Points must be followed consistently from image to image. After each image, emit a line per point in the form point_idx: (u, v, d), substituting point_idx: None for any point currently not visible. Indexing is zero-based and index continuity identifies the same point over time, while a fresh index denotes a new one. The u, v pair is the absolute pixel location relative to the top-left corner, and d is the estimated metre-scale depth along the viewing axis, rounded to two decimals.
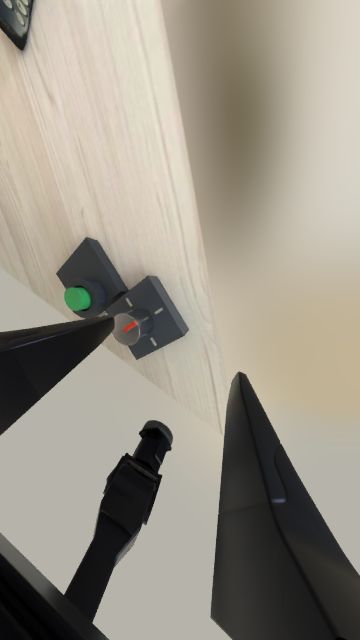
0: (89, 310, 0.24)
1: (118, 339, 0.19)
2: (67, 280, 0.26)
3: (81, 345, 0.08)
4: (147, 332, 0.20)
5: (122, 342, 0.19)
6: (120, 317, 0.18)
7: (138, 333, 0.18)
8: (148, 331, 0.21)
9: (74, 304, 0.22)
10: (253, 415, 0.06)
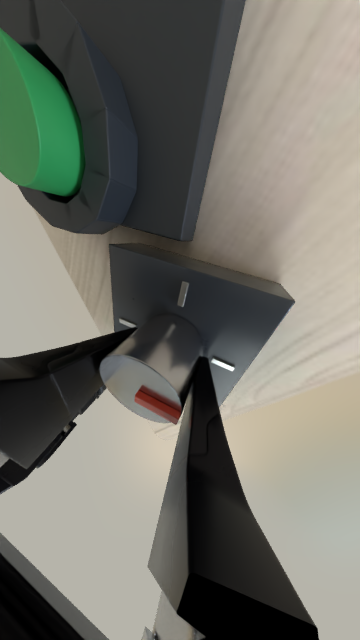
0: (60, 209, 0.07)
1: (107, 384, 0.07)
2: None
3: None
4: None
5: (112, 392, 0.08)
6: (149, 376, 0.06)
7: (163, 421, 0.07)
8: None
9: (0, 144, 0.05)
10: (201, 390, 0.06)
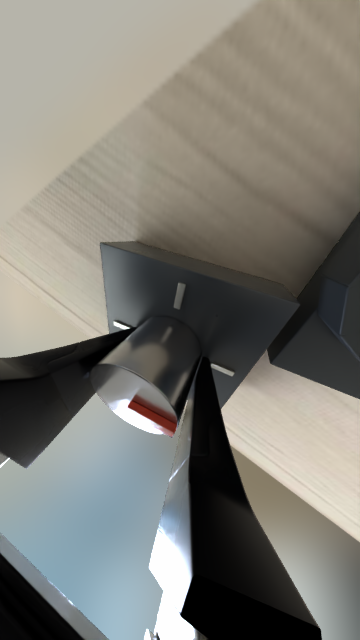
0: None
1: (99, 392, 0.07)
2: None
3: None
4: None
5: (105, 401, 0.07)
6: (141, 386, 0.05)
7: (159, 432, 0.07)
8: None
9: None
10: (202, 390, 0.06)
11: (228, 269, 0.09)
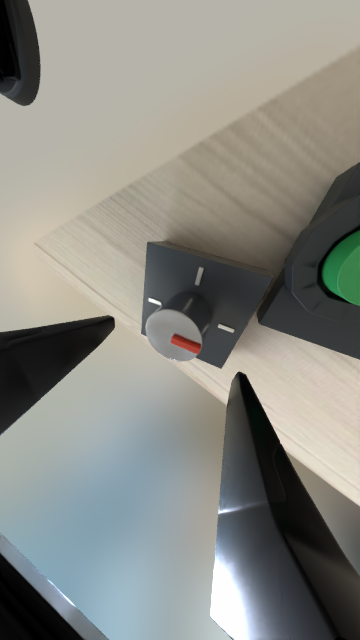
0: (318, 254, 0.08)
1: (149, 335, 0.11)
2: None
3: (81, 345, 0.08)
4: None
5: (152, 342, 0.11)
6: (182, 321, 0.09)
7: (187, 358, 0.11)
8: None
9: None
10: (253, 415, 0.06)
11: (230, 260, 0.13)
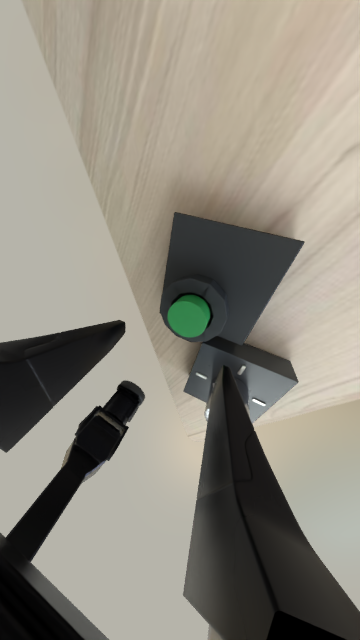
0: None
1: None
2: (184, 248, 0.13)
3: (93, 351, 0.08)
4: (248, 403, 0.15)
5: None
6: None
7: None
8: (248, 400, 0.15)
9: (181, 325, 0.13)
10: (231, 404, 0.06)
11: None
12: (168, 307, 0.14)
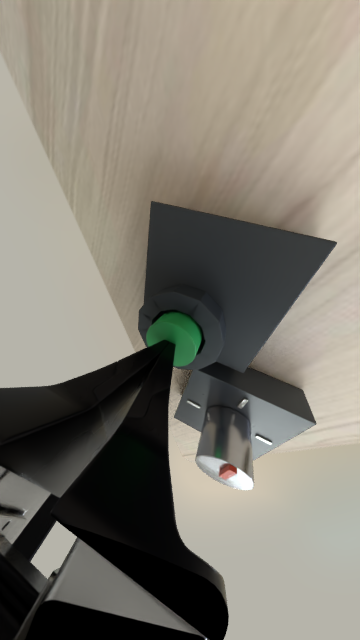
0: None
1: (223, 482, 0.12)
2: (166, 250, 0.10)
3: (146, 378, 0.08)
4: (251, 446, 0.12)
5: (230, 485, 0.12)
6: (204, 460, 0.11)
7: (248, 478, 0.10)
8: (251, 442, 0.12)
9: None
10: (157, 369, 0.07)
11: None
12: (148, 326, 0.11)
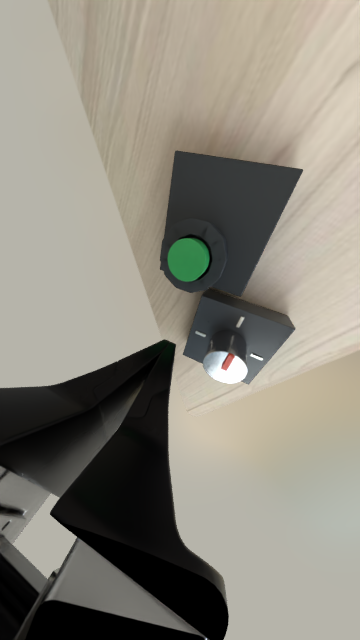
0: (186, 282, 0.15)
1: (224, 381, 0.16)
2: (184, 191, 0.13)
3: (146, 378, 0.08)
4: (246, 353, 0.16)
5: (229, 381, 0.15)
6: (210, 358, 0.15)
7: (243, 363, 0.14)
8: (246, 351, 0.16)
9: (180, 268, 0.13)
10: (157, 369, 0.07)
11: None
12: None
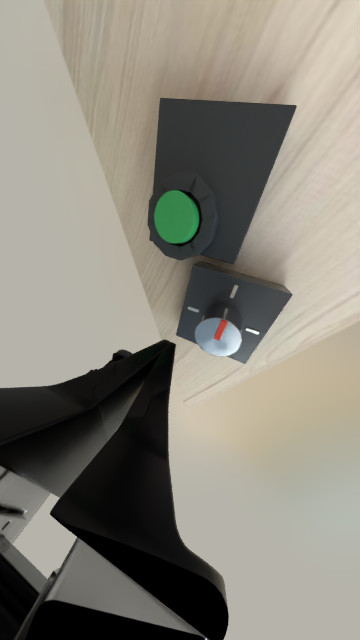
0: (175, 248, 0.14)
1: (217, 354, 0.15)
2: (171, 145, 0.12)
3: (146, 378, 0.08)
4: (241, 324, 0.15)
5: (223, 354, 0.14)
6: (202, 328, 0.14)
7: (236, 331, 0.13)
8: (240, 322, 0.15)
9: (168, 227, 0.12)
10: (157, 369, 0.07)
11: None
12: None
